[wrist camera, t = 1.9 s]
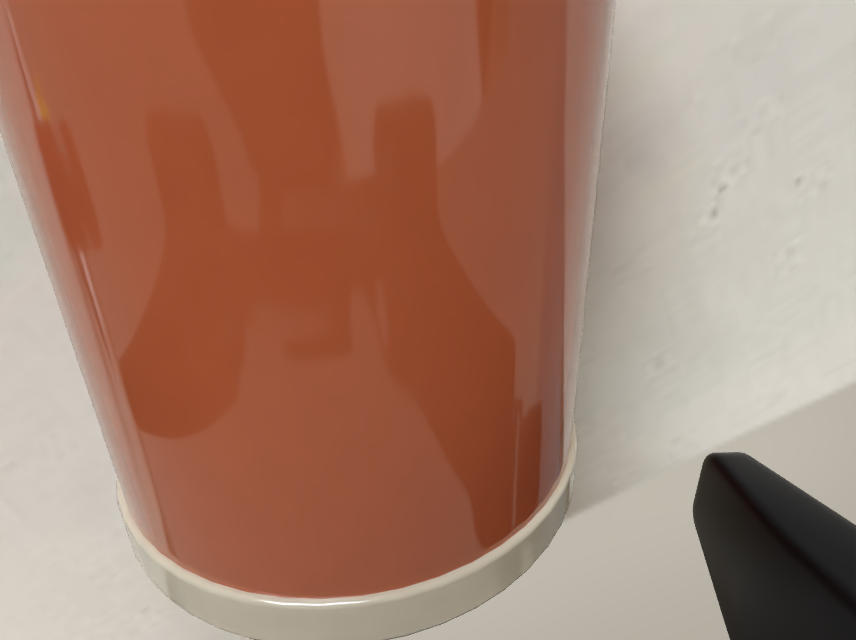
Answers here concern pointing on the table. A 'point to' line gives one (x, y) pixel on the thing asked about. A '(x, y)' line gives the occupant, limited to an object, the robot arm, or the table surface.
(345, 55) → the cup
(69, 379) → the table surface
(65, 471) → the table surface
